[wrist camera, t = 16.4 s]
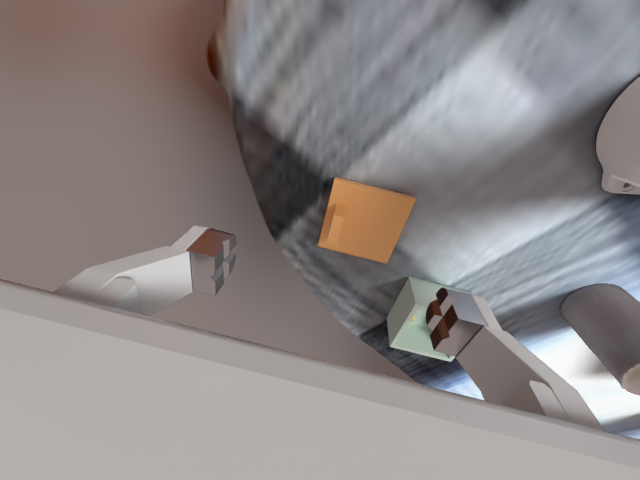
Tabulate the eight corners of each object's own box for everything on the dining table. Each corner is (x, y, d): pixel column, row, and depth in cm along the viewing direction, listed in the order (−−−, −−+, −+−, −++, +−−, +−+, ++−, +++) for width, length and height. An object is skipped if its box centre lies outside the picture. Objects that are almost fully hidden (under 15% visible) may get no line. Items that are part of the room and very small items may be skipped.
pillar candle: (636, 305, 45) (743, 392, 32) (574, 329, 50) (646, 414, 37) (610, 273, 43) (716, 354, 30) (547, 301, 47) (615, 382, 34)
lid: (414, 194, 40) (421, 211, 35) (386, 257, 47) (389, 278, 42) (335, 174, 40) (331, 188, 35) (319, 240, 47) (314, 259, 42)
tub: (471, 291, 48) (486, 321, 42) (441, 331, 55) (451, 361, 49) (408, 276, 48) (415, 303, 42) (386, 317, 55) (389, 346, 49)
